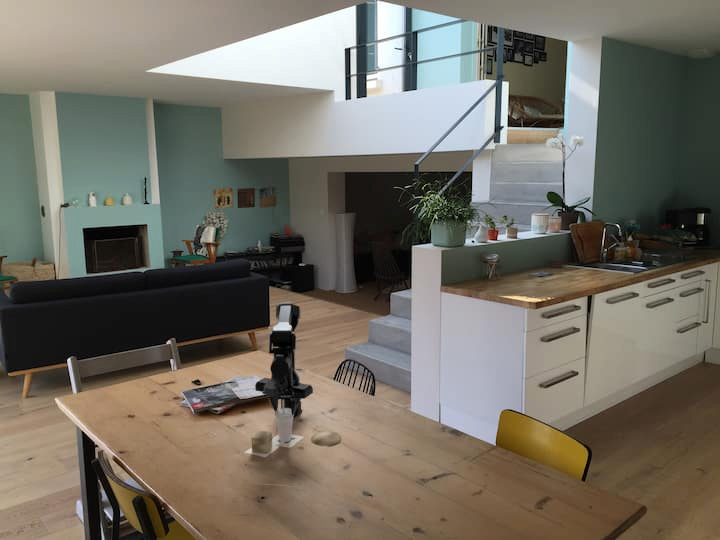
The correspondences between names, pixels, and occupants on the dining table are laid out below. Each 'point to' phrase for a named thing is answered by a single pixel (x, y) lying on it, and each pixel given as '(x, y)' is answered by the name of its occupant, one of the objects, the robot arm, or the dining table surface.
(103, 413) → the dining table surface
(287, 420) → the smoothie
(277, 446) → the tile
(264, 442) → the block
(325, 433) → the coaster
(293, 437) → the tile
